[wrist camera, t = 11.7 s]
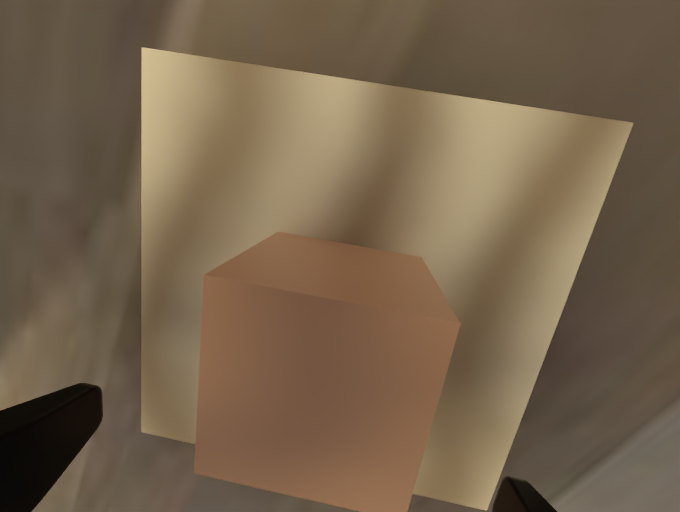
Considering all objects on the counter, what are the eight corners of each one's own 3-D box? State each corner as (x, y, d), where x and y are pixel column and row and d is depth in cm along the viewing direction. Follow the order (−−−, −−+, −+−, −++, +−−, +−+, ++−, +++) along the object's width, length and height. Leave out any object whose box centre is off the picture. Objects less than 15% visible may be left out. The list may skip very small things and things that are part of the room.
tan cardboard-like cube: (421, 257, 13) (460, 323, 7) (392, 382, 14) (404, 521, 9) (278, 231, 13) (203, 274, 7) (264, 357, 15) (194, 473, 9)
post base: (612, 127, 12) (803, 88, 7) (480, 491, 17) (530, 639, 11) (158, 56, 13) (10, -26, 8) (153, 417, 18) (59, 522, 12)
